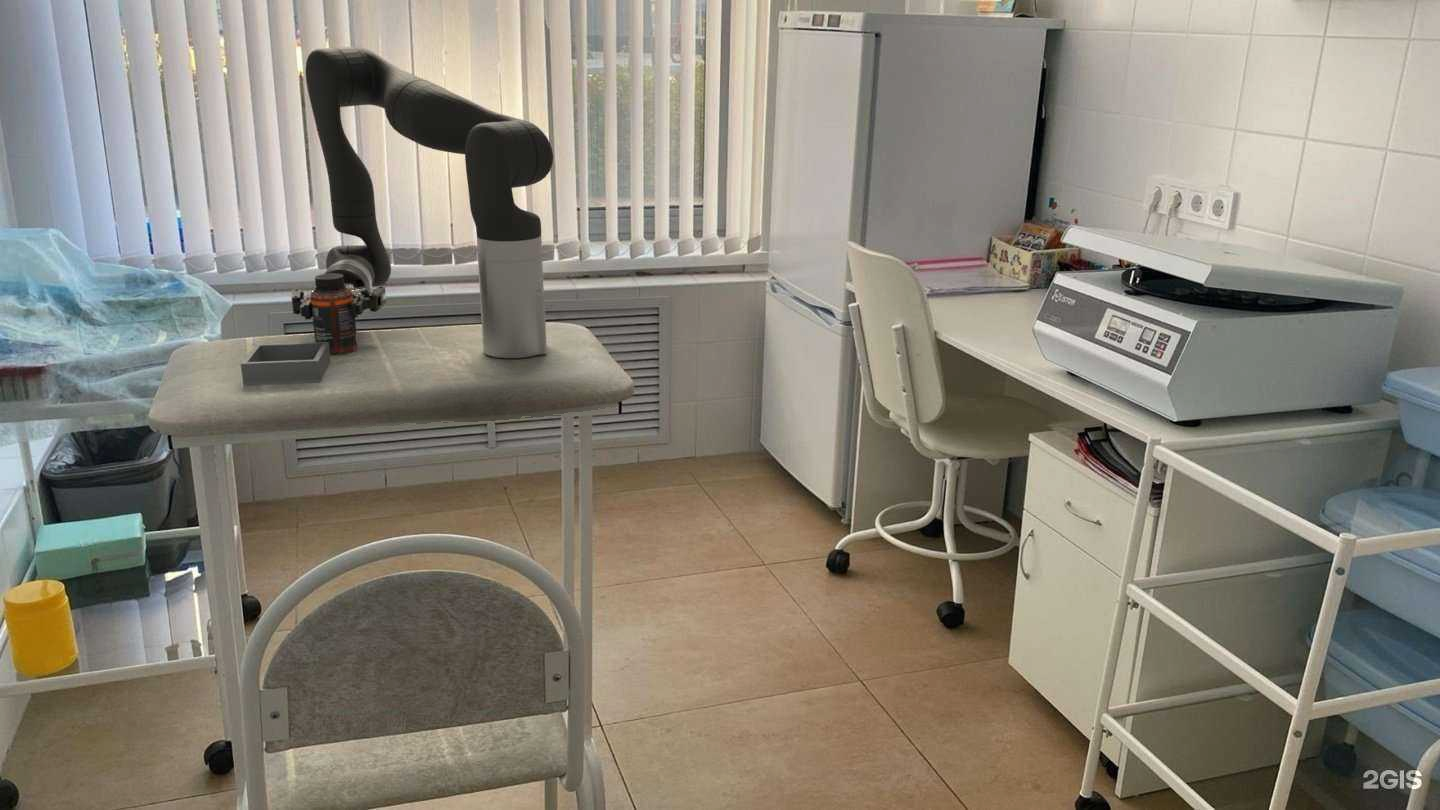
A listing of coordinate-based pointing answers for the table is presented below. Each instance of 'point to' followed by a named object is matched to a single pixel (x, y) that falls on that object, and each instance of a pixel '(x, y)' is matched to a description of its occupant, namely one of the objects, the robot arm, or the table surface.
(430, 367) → the table surface
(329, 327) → the supplement bottle
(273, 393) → the table surface
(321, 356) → the grey storage bin
